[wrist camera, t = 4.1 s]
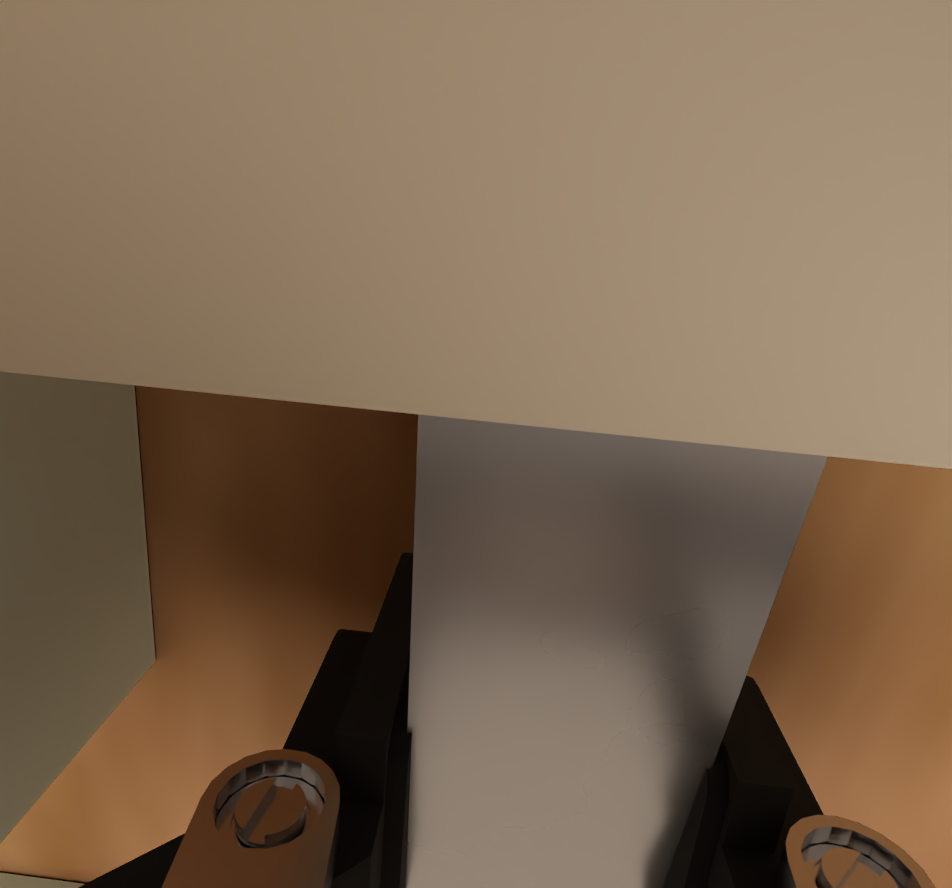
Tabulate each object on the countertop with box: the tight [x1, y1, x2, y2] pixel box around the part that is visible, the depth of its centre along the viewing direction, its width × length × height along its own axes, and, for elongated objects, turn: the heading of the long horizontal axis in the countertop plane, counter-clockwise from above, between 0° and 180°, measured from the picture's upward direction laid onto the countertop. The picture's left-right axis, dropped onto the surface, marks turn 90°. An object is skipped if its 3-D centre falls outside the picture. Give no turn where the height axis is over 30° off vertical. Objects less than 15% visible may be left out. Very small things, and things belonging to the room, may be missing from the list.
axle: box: [406, 414, 828, 888], centre depth 7 cm, size 16×3×3 cm, turn 175°
